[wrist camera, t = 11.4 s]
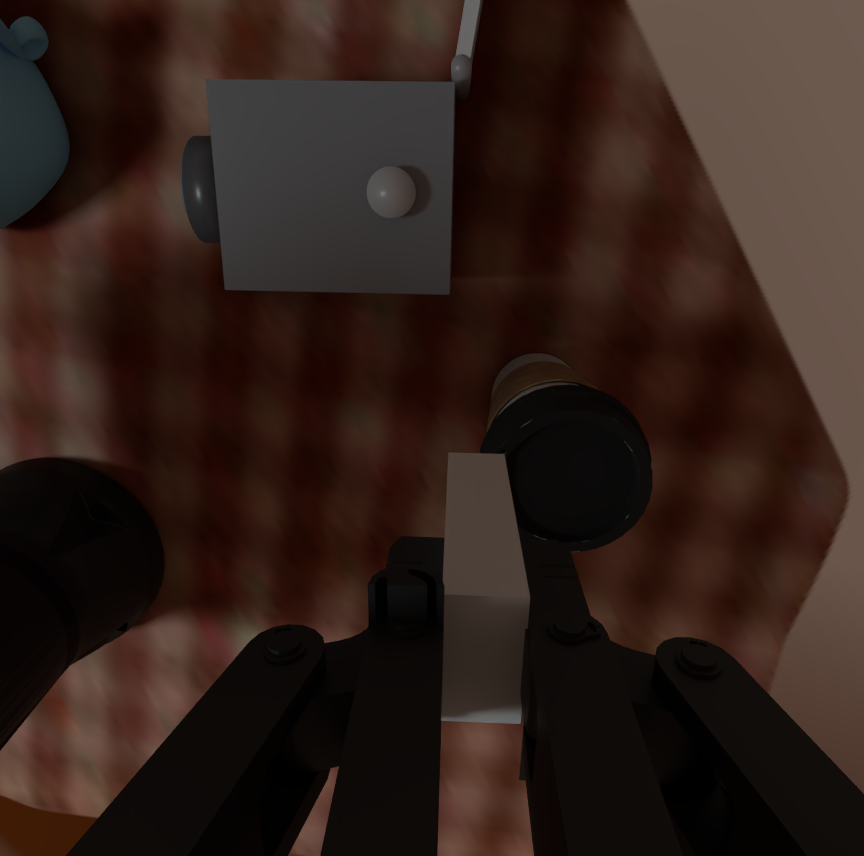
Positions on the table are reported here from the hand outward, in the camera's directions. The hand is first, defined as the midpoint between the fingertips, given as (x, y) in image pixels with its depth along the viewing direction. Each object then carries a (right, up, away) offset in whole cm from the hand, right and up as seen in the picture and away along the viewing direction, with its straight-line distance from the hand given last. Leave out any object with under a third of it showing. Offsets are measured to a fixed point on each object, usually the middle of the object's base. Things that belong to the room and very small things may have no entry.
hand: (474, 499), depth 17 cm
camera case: (-7, +17, +22) cm, 29 cm away
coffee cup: (+6, +4, +27) cm, 27 cm away
